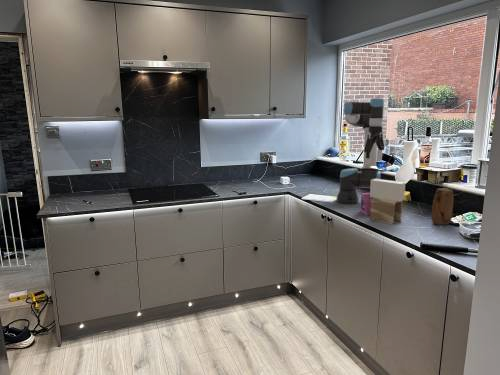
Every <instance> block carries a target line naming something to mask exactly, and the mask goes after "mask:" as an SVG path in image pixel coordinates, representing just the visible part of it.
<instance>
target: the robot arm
mask: <svg viewBox="0 0 500 375" xmlns="http://www.w3.org/2000/svg"><path fill="white" fill-rule="evenodd" d="M385 105H386V104H385V98H383V97H375V98H372V97H371V98H370V101H345V102H344V103H343V114H344V119H345V121H346V123H347V124H349V125H351V126H353V127H358V128H362V130H363V132H364V140H363V142H364V144H363V146H364V147H363V165H362V166H361V167H360V170H358V168H356V167H355V168H344V169H342V170H341V171H340V175H339V191H338V194H337V196H336V202H337V203H340V204H347V205H354V204H355V205H356V204H358V203H359V201H360V200H359V194H358V191H357V190H358V189H357V188H359V189H360V188H362V189H363V188H364V189H370V185H371V180H373V179H381V173H382V172H381V171H379V168H378V167H377V162H382V158H383V151H385V143H384V134H383V129H384V127H383V125H384V121H385V120H384V112H385Z"/></svg>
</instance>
